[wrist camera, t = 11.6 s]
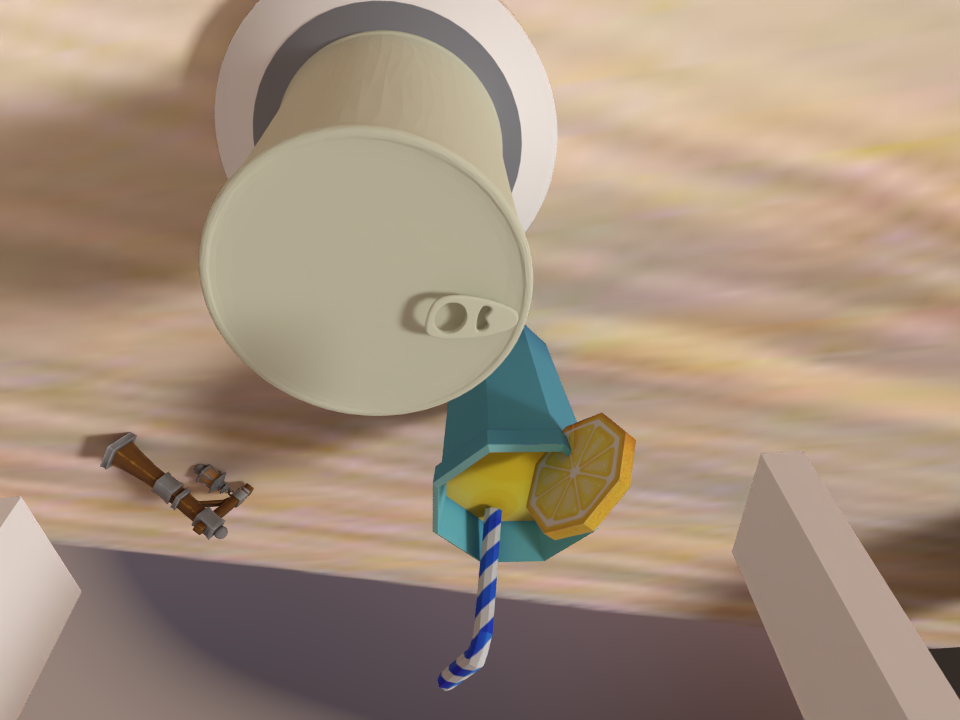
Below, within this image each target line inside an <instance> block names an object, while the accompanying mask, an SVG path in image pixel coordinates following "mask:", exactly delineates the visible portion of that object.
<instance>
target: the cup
mask: <svg viewBox="0 0 960 720" xmlns="http://www.w3.org/2000/svg"><path fill="white" fill-rule="evenodd" d="M635 444H636V440H635V439H634V438H633V437H631V436H630V435H629V434H628V433H627V432H625V431H624V430H623V429H622V428H621V427H619V426H618V425H617V424H616V423H615V422H613V421H612V420H611V419H610V418H608V417H607V416H606V415H604V414H603V413H600V414H597V415H595V416H592V417H589V418H587V419H584V420H582V421H579V422H577V421H576V418H575V416H574V413H573V411H572V409H571V406H570V404H569V401H568V399H567V396H566V394H565V391H564V389H563V386H562V384H561V381H560V379H559V376H558V374H557V371H556V369H555V366H554V364H553V361H552V359H551V356H550V354H549V351H548V349H547V346H546V344H545V343H544V342H543V341H542V340H541V339H540V338H539V337H538V336H536V335H535V334H534V333H533V332H532V331H531V330H530V329H529V328H528V327H527V326H526V325H524V328H523V330H522V332H521V334H520V336H519V339H518V341H517V342H516V344H515V345H514V347H513V349H512V350H511V352H510V353H509V354H508V356H507V357H506V358H505V360H504V361H503V362H502V363H501V364H500V365H499V366H498V367H497V368H496V370H495V371H494V372H493V373H492V374H491V375H489V376H488V377H487V378H486V379H485V380H484V381H482V382H481V383H479V384H478V385H477V386H475V387H474V388H473V389H471V390H469V391H468V392H466V393H464V394H462V395H461V396H459V397H457V398H455V399H453V400H450V401H448V409H447V418H446V428H445V438H444V448H443V457H442V462H441V463H440V464H439V465H437V466H436V468H435V474H434V480H433V532H434V533H436V534H438V535H439V536H441V537H442V538H444V539H445V540H447V541H448V542H450V543H452V544H453V545H455V546H456V547H458V548H459V549H461V550H463V551H464V552H466V553H467V554H469V555H470V556H472V557H473V558H475V559H477V560H478V561H480V570H479V581H478V592H477V603H476V614H475V624H474V633H473V637H472V641H471V644H470V646H469V649H468V650H467V651H465V652H464V653H463V654H462V655H461V656H460V657H458V658H457V659H456V660H455V661H454V662H453V663H451V664H450V665H449V666H448V667H447V668H446V669H444V670H443V671H442V672H441V674H440V675H439V677H438V683H439V687H440V688H442V689H443V690H445V691H447V690H450V689H453V688H454V687H456V686H457V685H458V684H460V683H461V682H462V681H464V680H465V679H467V678H468V677H469V676H471V675H472V674H474V673H475V672H476V671H477V670H479V669H480V668H482V667H483V665H484V663H485V660H486V657H487V654H488V650H489V646H490V642H491V637H492V632H493V619H494V605H495V593H496V581H497V568H498V562H521V561H545V560H547V559H549V558H550V557H552V556H554V555H555V554H557V553H559V552H560V551H562V550H564V549H565V548H567V547H569V546H570V545H572V544H574V543H576V542H577V541H579V540H581V539H582V538H584V537H586V536H587V535H589V534H591V533H592V532H594V531H595V530H597V529H598V526H599V525H600V524H601V522H602V521H603V520H604V519H605V517H606V516H607V515H608V514H609V513H610V511H611V510H612V509H613V508H614V506H615V505H616V504H617V503H618V502H619V500H620V499H621V498H622V497H623V495H624V494H625V493H626V492H627V491H628V489H629V488H630V484H631V476H632V468H633V460H634V452H635Z"/></svg>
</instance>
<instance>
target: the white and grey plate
mask: <svg viewBox="0 0 960 720" xmlns="http://www.w3.org/2000/svg"><path fill="white" fill-rule="evenodd" d="M375 30H390V31H400V32H405V33H410V34H414V35H417V36H420V37H423V38H426V39H428V40H430V41H433V42H435V43H437V44H439V45H440V46H442V47H444V48H446V49H447V50H449V51H450V52H452V53H453V54H454V55H456V56H457V57H458V58H459V59H461V60H462V61H463V62H464V63H465V64H466V65H467V66H468V67H469V68H470V69H471V70H472V71H473V72H474V73H475V75H476V76H477V77H478V78H479V80H480V81H481V82H482V84H483V86H484V87H485V89H486V90H487V92H488V94H489V96H490V98H491V100H492V102H493V104H494V107H495V109H496V112H497V116H498V119H499V122H500V128H501V133H502V144H503V160H504V164H505V169H506V173H507V177H508V181H509V185H510V189H511V193H512V197H513V201H514V205H515V209H516V212H517V216H518V219H519V221H520V223H521V225H522V228H523V230H524V233H525V231H526V230H527V229H528V227H529V226H530V224H531V223H532V221H533V220H534V218H535V216H536V214H537V213H538V211H539V209H540V207H541V205H542V203H543V201H544V198H545V196H546V193H547V190H548V188H549V185H550V182H551V178H552V174H553V170H554V165H555V159H556V150H557V117H556V111H555V104H554V98H553V94H552V91H551V87H550V84H549V80H548V77H547V74H546V72H545V69H544V67H543V65H542V62H541V60H540V58H539V56H538V53H537V51H536V50H535V48H534V46H533V44H532V43H531V41H530V39H529V38H528V36H527V34H526V33H525V31H524V30H523V28H522V26H521V25H520V23H519V22H518V21H517V19H516V18H515V17H514V16H513V15H512V13H511V12H510V11H509V10H508V8H507V7H506V6H505V5H504V4H503V3H502V2H501V1H500V0H260V1H259V2H257V3H256V5H255V6H254V7H253V8H252V10H251V11H250V12H249V13H248V15H247V16H246V17H245V18H244V20H243V21H242V22H241V24H240V26H239V27H238V29H237V31H236V33H235V35H234V36H233V38H232V40H231V42H230V43H229V46H228V49H227V51H226V54H225V57H224V59H223V62H222V64H221V68H220V73H219V77H218V82H217V86H216V95H215V109H214V116H215V132H216V139H217V144H218V149H219V154H220V158H221V161H222V164H223V167H224V170H225V173H226V177H227V179H229V178H230V177H231V176H232V175H233V174H234V173H235V172H236V171H237V170H238V169H239V168H240V167H241V166H242V165H243V163H244V162H245V160H246V159H247V157H248V156H249V154H250V153H251V151H252V150H253V149H254V147H255V146H256V144H257V143H258V141H259V140H260V138H261V137H262V135H263V134H264V132H265V131H266V129H267V128H268V126H269V124H270V123H271V121H272V120H273V118H274V117H275V115H276V114H277V112H278V110H279V109H280V105H281V102H282V99H283V96H284V94H285V92H286V90H287V88H288V86H289V84H290V82H291V80H292V79H293V77H294V76H295V74H296V73H297V72H298V70H299V69H300V68H301V67H302V66H303V65H304V64H305V63H306V61H307V60H308V59H309V58H311V57H312V56H313V55H314V54H316V53H317V52H318V51H319V50H321V49H322V48H324V47H325V46H327V45H328V44H330V43H332V42H334V41H336V40H338V39H341V38H343V37H346V36H349V35H352V34H356V33H360V32H365V31H375Z"/></svg>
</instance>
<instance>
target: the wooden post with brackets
mask: <svg viewBox="0 0 960 720" xmlns="http://www.w3.org/2000/svg"><path fill="white" fill-rule="evenodd" d="M136 436H137V435H135V434H133V433H131V432H130V433H128V434H127V435H125V436H123V437H122V438H120V439H119V440H117V441H115V442H114V443H112V444H111V445H109V446H108V447H107V450H106V452H105V455H104V457H103V460H102V463H101V465H100V467H103V468H105V469H108V468H109V467H111V466H112V465H113V466H116V467H118V468H120V469H123V470H124V471H126V472H128V473H130V474H131V475H133V476H135V477H137V478H138V479H140V480H142V481H144V482H145V483H147V484H148V485H149V486H151V487H152V488H153V489H152V492H154V493H156V494H157V495H158V496H160V497H161V498H162V499H163V500H164V501H165V502H166V504H168V503H169V502H170V503H171V504H172V505H171V508H173V509H174V510H175V509H176V508H178V509H179V510H180V511H181V512H182V513H184V514H185V515H186V516H187V517H188V518H190V519H191V520H192V521H193V523H192V526H194V528H193V531H195V532H196V533H197V534H199V535H200V534H202V533H203V534H204V535H205V536H206V537H207V538H208V540H209V539H210V538H211V537H212V536H213V535H215V537H216V538H218V539H223V538H225V537H226V536H227V533H228V531H227V528H226V527H224V526H223V524H224V522H225V521H226V520H224V519H222V517H223V516H225V515H226V514H227V513H228V512H229V511H231V510H232V509H233V508H234V507H238V506H239V505H240V504H241V503H242V502H243V501H244V500H245V499H246V498H247V496H249V495H250V494H251V492H252V491H253V489H254V488H253V487H252V486H250V485H249V484H248V483H246V484H245V485H244V486H242V487H241V489H240V488H239V489H237V490H236V491H235V492H234V491H233V490H231V488H230V487H229V483H227V484H226V485H225V483H226V482H224V478H225V475H226V472H225V473H224V474H220V473H219V472H218V471H217V470H216V469H215V468H214V467H213V466H211V465H210V464H209V465H208V466H207V467H206V468H205V466H204V465H202V464H198V465H196V466H195V468H194V471H195V473H196V474H198V475H199V476H198V478H197V480H196V482H197V481H198V482H201V483H203V484H204V485H206V486H207V487H209V488H210V490H209V493H211V492H212V491H214V490H216V489H218V491H219V490H220V489H222V490H221V492H220V494H221V493H223V492H225V493H228V495H229V496H230V498H229V497H228V498H226V499H224V500H212V501H197V500H196V499H195V498H194V497H193V496H192V495H191V494H190V492H191V490H189V488H186V489H184V488H183V485H184V484H183V483H181V482H179V481H178V480H176V479H175V478H174V477H172V476H171V474H170V473H169V472H167V473H166V474H165V473H164V472H163V471H161V470H160V469H159V468H158V467H156V466H155V465H154V464H153V463H152V462H151V461H150V460H149V459H148V458H147V457H146V456H145V455H144V454H143V453H142V452H141V451H140V450H139V449H138V447H137V446H136V445H135V444H134V441H135V439H136ZM228 488H229V489H230V490H228V492H226V490H227V489H228ZM231 491H232V492H233V493H232V494H230V492H231ZM216 506H219V507H218V508H216V509H215V510H214V511H212V510H211V509H210V507H216ZM205 507H207V508H205Z"/></svg>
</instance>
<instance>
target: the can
mask: <svg viewBox="0 0 960 720" xmlns="http://www.w3.org/2000/svg"><path fill="white" fill-rule="evenodd" d="M199 274H200V283H201V287H202V291H203V295H204V299H205V302H206V305H207V308H208V310H209V313H210V315H211V317H212V319H213V321H214V323H215V325H216V327H217V329H218V330H219V332H220V334H221V335H222V337H223V338H224V340H225V341H226V343H227V344H228V345H229V347H230V348H231V349H232V350H233V351H234V353H235V354H236V355H237V356H238V357H239V358H240V359H241V360H242V361H243V362H244V363H245V364H246V365H247V366H248V367H249V368H250V369H251V370H252V371H254V372H255V373H256V374H257V375H259V376H260V377H261V378H262V379H264V380H265V381H267V382H268V383H270V384H271V385H272V386H274V387H276V388H277V389H279V390H281V391H283V392H285V393H286V394H288V395H290V396H292V397H294V398H296V399H299V400H301V401H304V402H306V403H309V404H311V405H314V406H317V407H321V408H324V409H327V410H332V411H336V412H341V413H346V414H354V415H365V416H389V415H400V414H407V413H412V412H417V411H422V410H426V409H429V408H432V407H435V406H438V405H441V404H444V403H446V402H448V401H450V400H453V399H455V398H457V397H459V396H461V395H462V394H464V393H466V392H468V391H469V390H471V389H473V388H474V387H475V386H477V385H478V384H479V383H481V382H482V381H484V380H485V379H486V378H487V377H488V376H489V375H491V374H492V373H493V372H494V371H495V370H496V368H497V367H498V366H499V365H500V364H501V363H502V362H503V361H504V360H505V358H506V357H507V356H508V354H509V353H510V352H511V350H512V349H513V347H514V345H515V344H516V342H517V341H518V339H519V336H520V334H521V332H522V330H523V328H524V325H525V323H526V320H527V317H528V313H529V310H530V305H531V300H532V292H533V266H532V260H531V254H530V249H529V245H528V242H527V239H526V236H525V233H524V230H523V228H522V225H521V223H520V221H519V219H518V216H517V212H516V209H515V205H514V201H513V197H512V193H511V189H510V185H509V181H508V177H507V173H506V169H505V164H504V160H503V144H502V133H501V128H500V122H499V119H498V116H497V112H496V109H495V107H494V104H493V102H492V100H491V98H490V96H489V94H488V92H487V90H486V89H485V87H484V86H483V84H482V82H481V81H480V80H479V78H478V77H477V76H476V75H475V73H474V72H473V71H472V70H471V69H470V68H469V67H468V66H467V65H466V64H465V63H464V62H463V61H462V60H461V59H459V58H458V57H457V56H456V55H454V54H453V53H452V52H450V51H449V50H447V49H446V48H444V47H442V46H440V45H439V44H437V43H435V42H433V41H430V40H428V39H426V38H423V37H420V36H417V35H414V34H410V33H405V32H400V31H390V30H375V31H365V32H360V33H356V34H352V35H349V36H346V37H343V38H341V39H338V40H336V41H334V42H332V43H330V44H328V45H327V46H325V47H324V48H322V49H321V50H319V51H318V52H317V53H316V54H314V55H313V56H312V57H311V58H309V59H308V60H307V61H306V63H305V64H304V65H303V66H302V67H301V68H300V69H299V70H298V72H297V73H296V74H295V76H294V77H293V79H292V80H291V82H290V84H289V86H288V88H287V90H286V92H285V94H284V96H283V99H282V102H281V105H280V109H279V110H278V112H277V114H276V115H275V117H274V118H273V120H272V121H271V123H270V124H269V126H268V128H267V129H266V131H265V132H264V134H263V135H262V137H261V138H260V140H259V141H258V143H257V144H256V146H255V147H254V149H253V150H252V151H251V153H250V154H249V156H248V157H247V159H246V160H245V162H244V163H243V165H242V166H241V167H240V168H239V169H238V170H237V171H236V172H235V173H234V174H233V175H232V176H231V177H230V178H229V179H228V181H227V182H226V183H225V184H224V186H223V187H222V189H221V190H220V192H219V193H218V195H217V196H216V198H215V200H214V202H213V204H212V206H211V208H210V210H209V212H208V215H207V218H206V220H205V223H204V227H203V230H202V235H201V240H200V248H199Z"/></svg>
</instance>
